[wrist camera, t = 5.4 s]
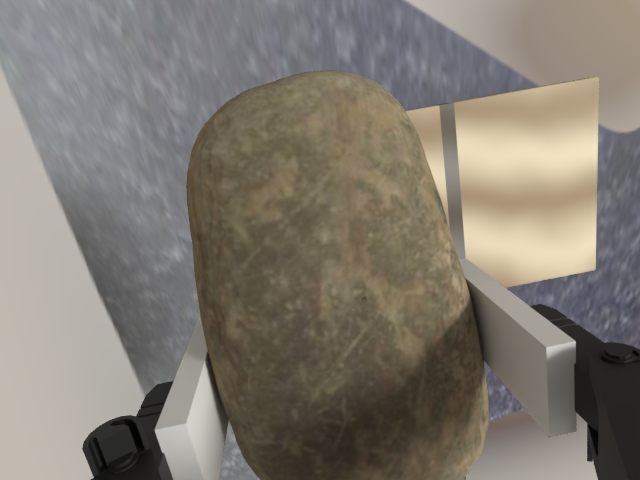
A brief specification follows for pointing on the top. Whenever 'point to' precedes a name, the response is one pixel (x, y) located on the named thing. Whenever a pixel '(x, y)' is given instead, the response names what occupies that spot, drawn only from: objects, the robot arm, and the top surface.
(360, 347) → the stone
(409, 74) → the top surface
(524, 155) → the board
